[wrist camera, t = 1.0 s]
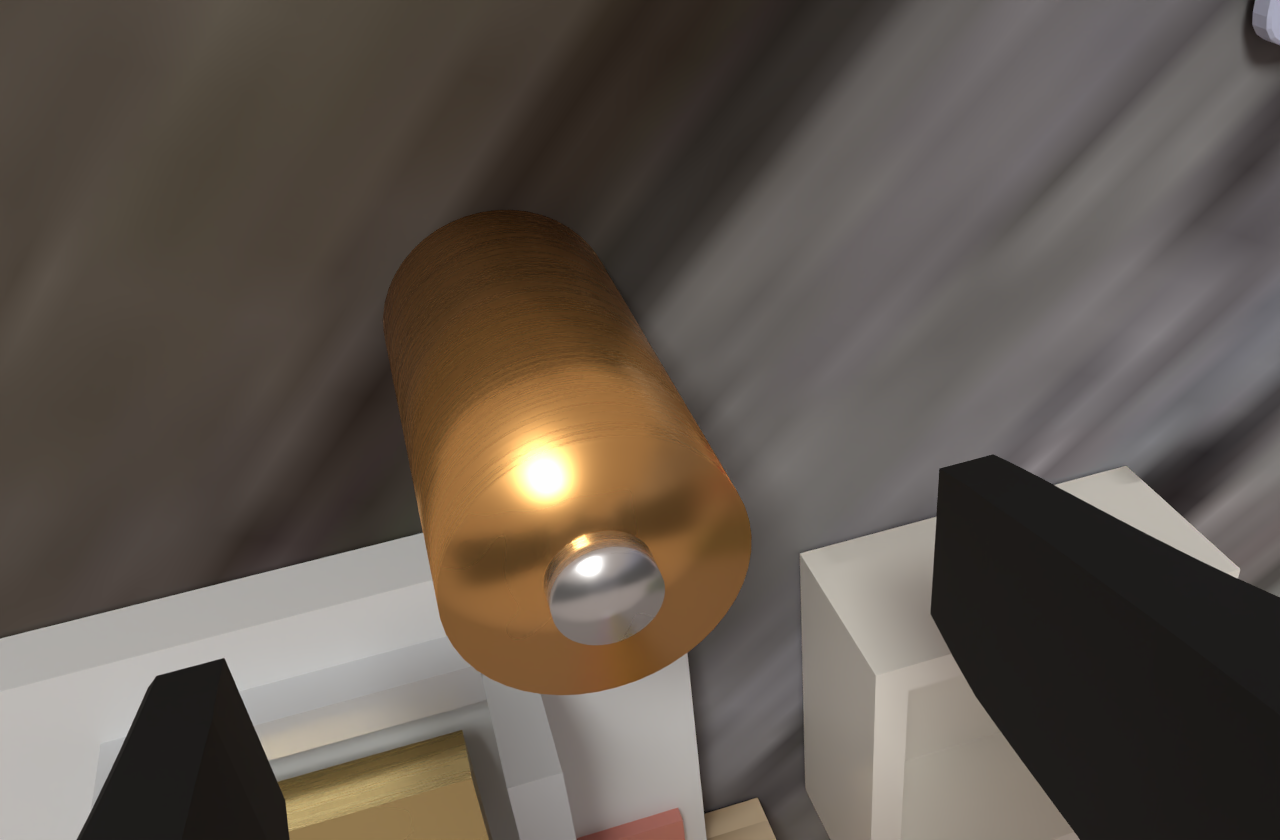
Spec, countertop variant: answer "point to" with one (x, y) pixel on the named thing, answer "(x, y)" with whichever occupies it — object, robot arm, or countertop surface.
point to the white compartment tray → (345, 703)
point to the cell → (554, 463)
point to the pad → (391, 796)
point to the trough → (738, 823)
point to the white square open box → (925, 688)
